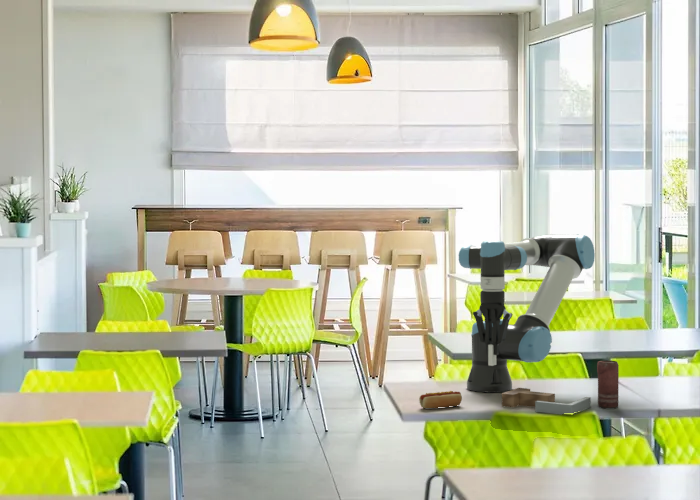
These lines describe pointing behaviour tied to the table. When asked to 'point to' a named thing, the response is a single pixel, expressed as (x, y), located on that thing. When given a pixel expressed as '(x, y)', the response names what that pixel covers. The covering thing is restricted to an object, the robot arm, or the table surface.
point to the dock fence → (563, 406)
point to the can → (608, 383)
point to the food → (440, 399)
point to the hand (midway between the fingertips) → (492, 364)
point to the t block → (525, 397)
